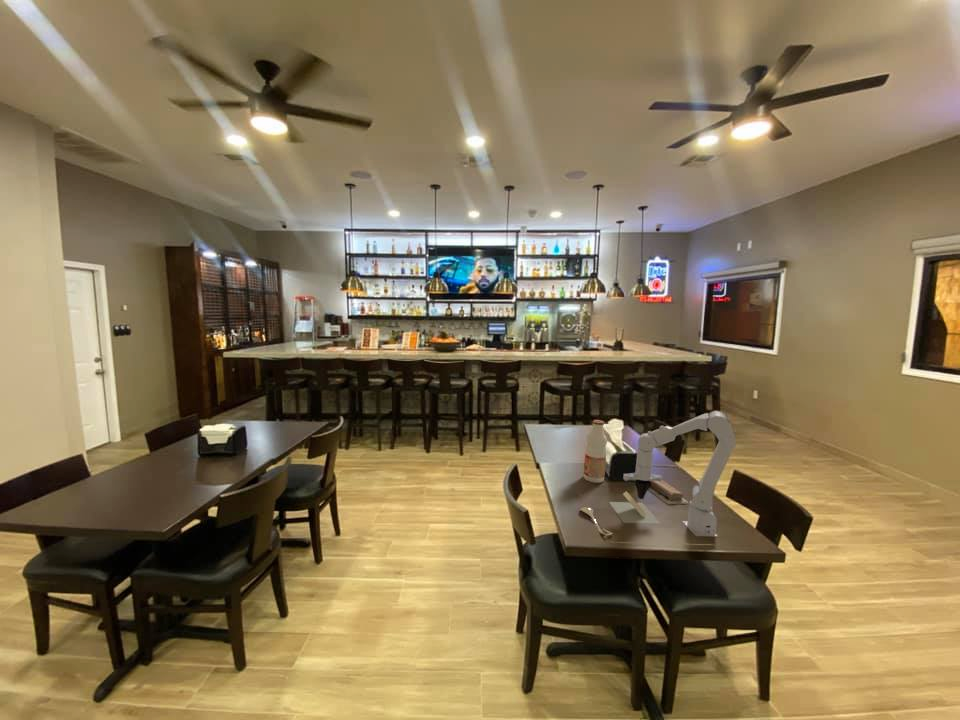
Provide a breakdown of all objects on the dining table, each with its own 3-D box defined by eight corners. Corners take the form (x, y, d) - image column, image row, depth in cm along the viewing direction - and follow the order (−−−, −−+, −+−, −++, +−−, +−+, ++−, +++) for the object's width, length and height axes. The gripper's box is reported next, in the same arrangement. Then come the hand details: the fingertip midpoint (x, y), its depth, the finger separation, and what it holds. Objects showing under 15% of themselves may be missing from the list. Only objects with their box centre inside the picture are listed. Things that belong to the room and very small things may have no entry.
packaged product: (642, 476, 179) (661, 475, 182) (641, 487, 180) (660, 485, 182) (669, 495, 162) (690, 493, 164) (668, 506, 163) (688, 504, 165)
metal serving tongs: (616, 528, 137) (604, 529, 136) (616, 538, 137) (603, 539, 136) (589, 503, 156) (578, 504, 155) (588, 512, 156) (577, 513, 155)
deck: (646, 514, 151) (633, 499, 150) (642, 517, 151) (629, 502, 150) (638, 505, 158) (626, 491, 157) (635, 507, 158) (622, 493, 157)
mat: (660, 524, 147) (660, 523, 147) (623, 523, 147) (624, 522, 147) (642, 503, 163) (642, 502, 163) (608, 502, 163) (608, 501, 162)
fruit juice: (596, 485, 179) (601, 425, 175) (579, 477, 186) (583, 420, 182) (608, 480, 185) (613, 422, 181) (590, 473, 192) (595, 417, 188)
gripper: (657, 461, 157) (654, 493, 158) (621, 460, 156) (618, 492, 158) (666, 468, 150) (662, 502, 151) (628, 467, 149) (625, 501, 151)
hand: (640, 497), depth 154 cm, fingers closed
